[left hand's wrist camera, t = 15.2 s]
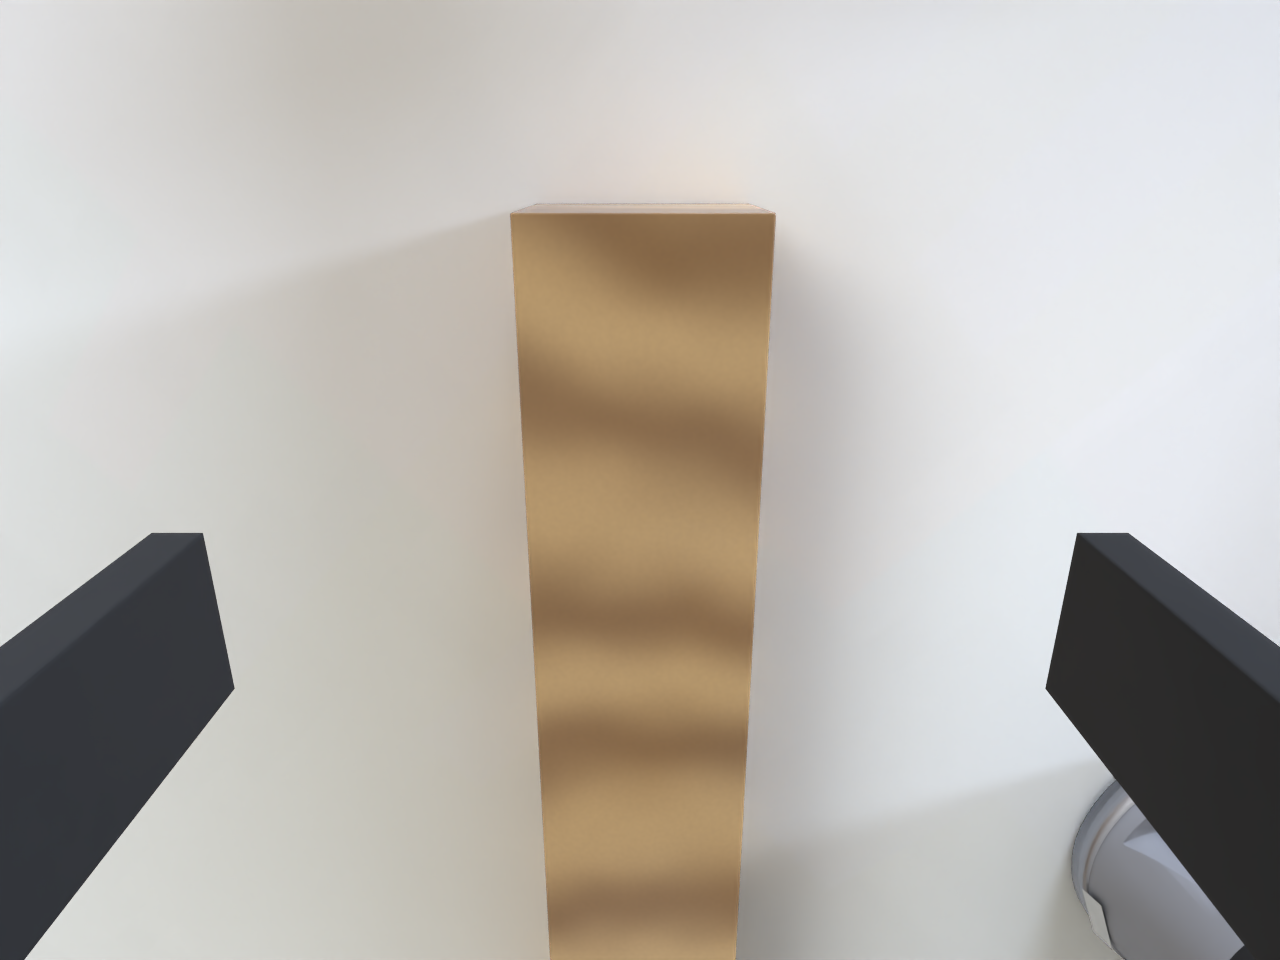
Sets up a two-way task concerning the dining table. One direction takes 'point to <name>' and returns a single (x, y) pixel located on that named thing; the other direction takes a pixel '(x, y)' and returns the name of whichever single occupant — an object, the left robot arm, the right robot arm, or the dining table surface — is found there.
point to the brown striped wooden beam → (642, 559)
